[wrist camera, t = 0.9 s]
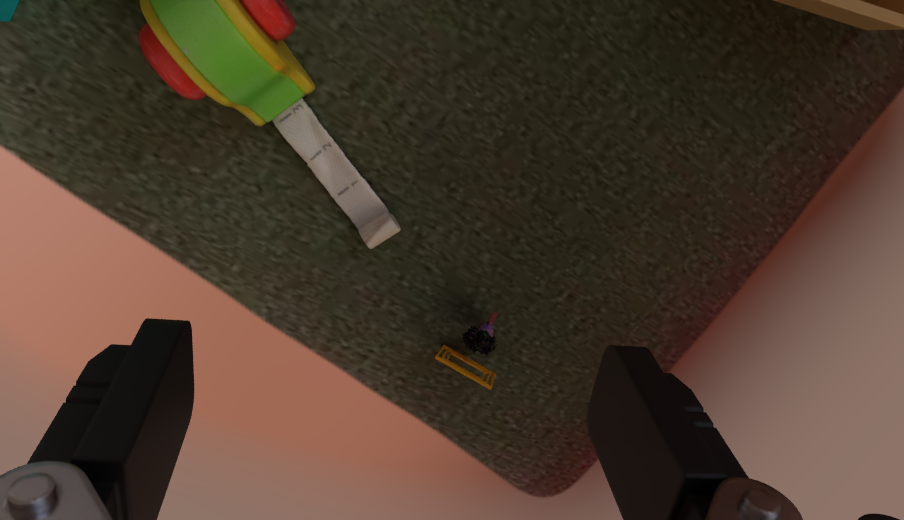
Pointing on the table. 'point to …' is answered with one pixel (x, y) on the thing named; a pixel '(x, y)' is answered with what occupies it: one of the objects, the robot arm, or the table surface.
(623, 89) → the table surface
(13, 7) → the bracket
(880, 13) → the wooden tray
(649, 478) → the robot arm
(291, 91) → the toy measuring tape
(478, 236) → the table surface
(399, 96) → the table surface
